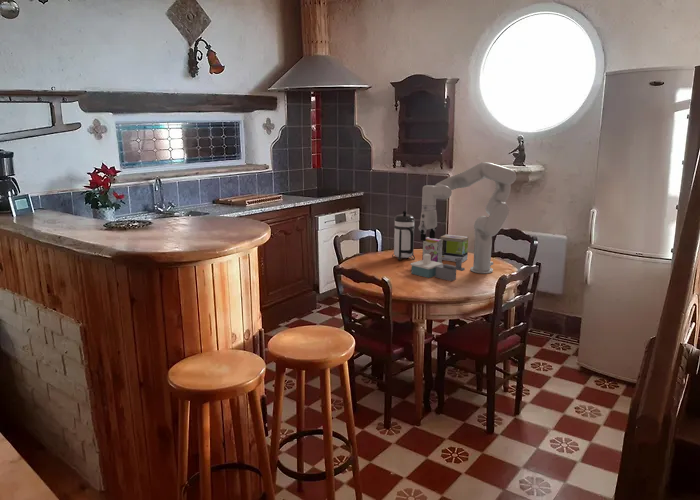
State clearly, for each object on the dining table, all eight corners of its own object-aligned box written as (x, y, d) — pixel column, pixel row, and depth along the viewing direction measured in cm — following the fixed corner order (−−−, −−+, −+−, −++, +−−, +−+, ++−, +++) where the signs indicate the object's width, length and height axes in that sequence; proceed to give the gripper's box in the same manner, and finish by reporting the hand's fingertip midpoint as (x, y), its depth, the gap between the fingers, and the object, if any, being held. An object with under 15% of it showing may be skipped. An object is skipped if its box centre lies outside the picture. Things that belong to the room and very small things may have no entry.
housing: (424, 269, 317) (424, 259, 315) (459, 277, 300) (460, 267, 299) (411, 273, 308) (411, 263, 307) (446, 282, 292) (447, 271, 291)
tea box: (467, 259, 339) (469, 236, 336) (461, 263, 331) (462, 239, 327) (445, 256, 347) (446, 233, 343) (438, 259, 339) (439, 236, 335)
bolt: (447, 265, 301) (447, 254, 299) (465, 269, 292) (466, 258, 291) (441, 267, 297) (442, 255, 296) (460, 271, 289) (461, 259, 287)
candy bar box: (421, 264, 327) (422, 238, 323) (426, 263, 330) (427, 236, 327) (437, 268, 320) (438, 240, 316) (442, 266, 323) (443, 239, 319)
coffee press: (386, 259, 339) (387, 211, 332) (398, 254, 352) (399, 208, 345) (411, 263, 330) (413, 214, 323) (422, 257, 343) (424, 210, 336)
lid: (424, 260, 316) (424, 250, 315) (443, 265, 307) (443, 254, 306) (410, 265, 307) (410, 254, 306) (429, 269, 298) (429, 258, 297)
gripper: (424, 210, 291) (423, 243, 295) (443, 207, 303) (442, 238, 307) (413, 209, 296) (412, 240, 300) (432, 205, 308) (431, 236, 312)
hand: (427, 239), depth 304 cm, fingers open, 7 cm apart
